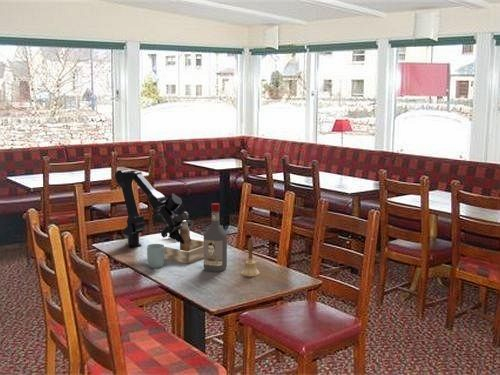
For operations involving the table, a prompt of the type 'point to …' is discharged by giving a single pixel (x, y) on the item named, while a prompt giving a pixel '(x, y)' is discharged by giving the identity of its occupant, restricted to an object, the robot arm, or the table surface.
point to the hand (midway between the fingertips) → (187, 242)
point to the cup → (155, 255)
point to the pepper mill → (185, 236)
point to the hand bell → (250, 262)
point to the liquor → (215, 243)
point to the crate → (186, 252)
